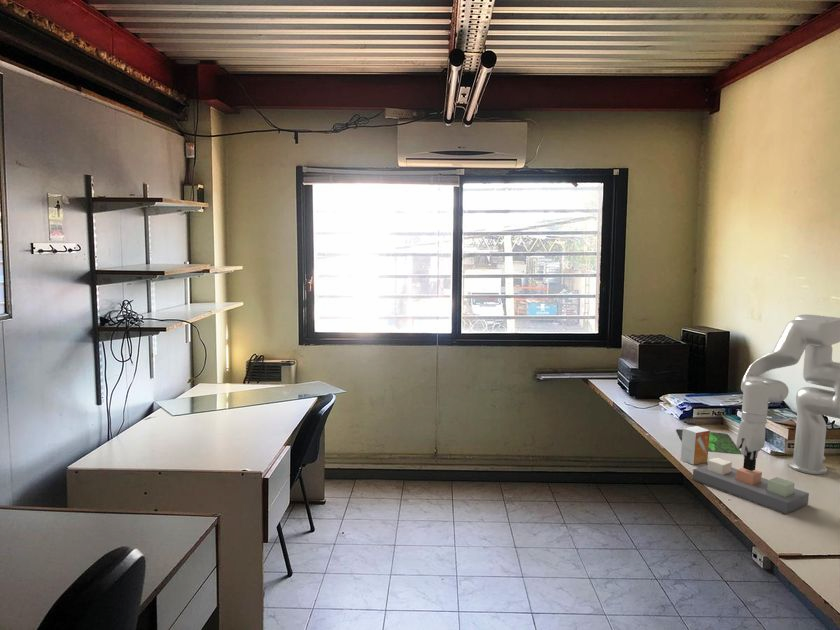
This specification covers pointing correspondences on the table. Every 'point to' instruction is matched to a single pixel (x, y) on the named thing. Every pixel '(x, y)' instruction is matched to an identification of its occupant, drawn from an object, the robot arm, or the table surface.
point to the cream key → (719, 466)
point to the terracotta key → (749, 476)
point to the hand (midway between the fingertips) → (749, 469)
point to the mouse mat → (718, 443)
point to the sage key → (781, 486)
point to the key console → (751, 490)
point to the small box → (695, 445)
